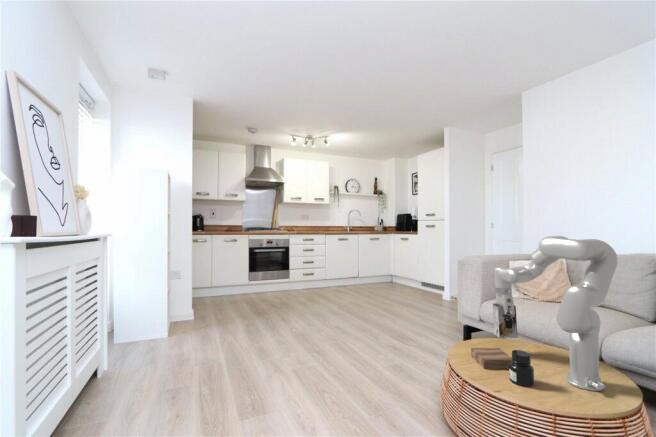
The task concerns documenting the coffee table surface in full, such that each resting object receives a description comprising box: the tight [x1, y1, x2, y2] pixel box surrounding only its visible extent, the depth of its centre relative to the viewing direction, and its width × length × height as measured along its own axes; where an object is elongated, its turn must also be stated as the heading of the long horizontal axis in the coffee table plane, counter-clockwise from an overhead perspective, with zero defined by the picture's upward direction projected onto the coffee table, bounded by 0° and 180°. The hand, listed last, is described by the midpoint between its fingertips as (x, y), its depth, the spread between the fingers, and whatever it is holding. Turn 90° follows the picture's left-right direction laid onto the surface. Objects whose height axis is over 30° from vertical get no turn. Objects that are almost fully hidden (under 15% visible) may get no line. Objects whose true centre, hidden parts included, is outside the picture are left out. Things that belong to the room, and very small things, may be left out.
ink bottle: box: [508, 349, 535, 388], centre depth 132 cm, size 10×9×12 cm
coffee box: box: [492, 303, 519, 339], centre depth 163 cm, size 9×6×16 cm
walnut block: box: [470, 347, 512, 370], centre depth 151 cm, size 14×14×4 cm
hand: (505, 325), depth 163 cm, fingers closed on coffee box, 6 cm apart
